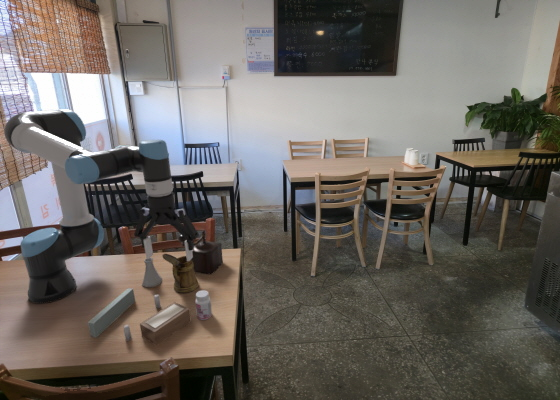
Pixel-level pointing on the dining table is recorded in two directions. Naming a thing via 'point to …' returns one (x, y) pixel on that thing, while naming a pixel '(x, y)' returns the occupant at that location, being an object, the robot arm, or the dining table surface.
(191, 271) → the wooden mug
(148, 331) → the frame
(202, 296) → the pill bottle
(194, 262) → the dark brown coffee grinder
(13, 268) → the dining table surface
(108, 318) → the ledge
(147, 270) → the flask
